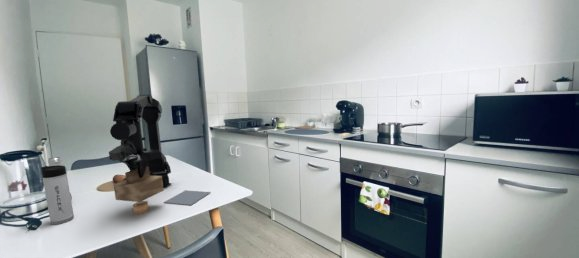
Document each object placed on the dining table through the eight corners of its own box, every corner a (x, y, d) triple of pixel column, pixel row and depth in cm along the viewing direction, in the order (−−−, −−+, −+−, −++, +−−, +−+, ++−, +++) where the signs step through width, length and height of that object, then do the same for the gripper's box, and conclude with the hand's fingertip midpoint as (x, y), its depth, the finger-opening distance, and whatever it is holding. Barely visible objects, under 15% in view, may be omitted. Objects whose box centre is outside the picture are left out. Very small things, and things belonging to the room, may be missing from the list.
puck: (130, 213, 94) (129, 205, 94) (141, 207, 99) (140, 200, 98) (140, 214, 93) (139, 206, 92) (151, 208, 97) (150, 201, 97)
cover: (115, 199, 92) (111, 173, 90) (141, 188, 102) (138, 165, 101) (139, 202, 88) (136, 174, 87) (163, 190, 99) (160, 165, 98)
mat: (163, 203, 102) (163, 202, 102) (185, 191, 114) (185, 190, 114) (191, 205, 98) (191, 204, 98) (210, 192, 110) (210, 192, 110)
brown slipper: (140, 183, 127) (131, 174, 124) (128, 194, 124) (118, 185, 121) (130, 177, 140) (122, 168, 137) (118, 186, 136) (109, 178, 133)
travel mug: (59, 217, 94) (50, 164, 91) (78, 215, 94) (69, 163, 92) (44, 225, 88) (34, 169, 85) (65, 223, 88) (55, 167, 86)
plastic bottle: (76, 202, 107) (69, 156, 105) (57, 209, 101) (49, 160, 98) (66, 201, 109) (58, 155, 107) (47, 208, 103) (38, 159, 100)
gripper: (91, 139, 87) (98, 183, 89) (133, 139, 82) (139, 186, 84) (121, 134, 98) (126, 173, 100) (160, 134, 93) (165, 175, 95)
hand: (138, 177), depth 94 cm, fingers closed on cover, 2 cm apart
